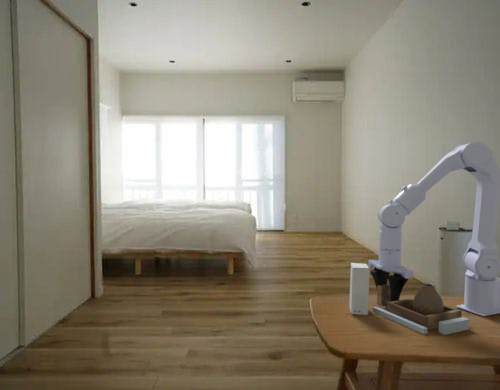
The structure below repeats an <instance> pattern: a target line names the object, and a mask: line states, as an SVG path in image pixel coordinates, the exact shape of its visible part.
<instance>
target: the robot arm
mask: <svg viewBox="0 0 500 390" xmlns="http://www.w3.org/2000/svg"><path fill="white" fill-rule="evenodd" d="M457 170H459V171H460V170H465V171H467V172H468V173H469V174H470V175H471V176H473V177H474V179H475V180H477V181H476V193H475V203H474V210H473V211H474V212H473V213H474V214H473V222H472V223H473V224H472V235H471V239H470V241H468V243H467V248H466V251H465V252H464V254H463V256H462V264H463V266H464V267H465V269H466V270H465V271H466V272H465V273H464V275H465V276H464V298H463V299H464V300H463V304H457V305H456V309H457V308H458V309H459V310H463V311H467V312H469V313H472V314H475V315H478V316H481V317H488V316H493V315H498V314H500V277H498V276H500V251H499V248H498V246H497V243H496V235H497V233H496V232H497V224H498V215H499V214H498V213H499V202H500V167H499V165H498V162H497V161H496V159H495V157H494V150H493V149H491V148H490V147H489V146H488V145H486V144H485V143H484V142H481V141H472V142H469V143H464V144H459V145H457V146H455V147H454V149H453V150H452V151H449V152H448V153H447V154H446V155H444V156H443V157H442V158H441V159H440V160H439V161H438V162H437V163H436V164H435V165H434V166H433V167H432V168H431V169H430V170H428V172H427V173H426V174H425V175H424V176H423V177H422V178H420V180H419V181H418V182H417V183H409V184H407V185H403V186H401V188H400V189H401V191H400V192H399V193H398V194H397V195H395V197H394V198H393V199H391V198H390V199H389V200H388V201H387V202H388V203H389V204H386V205H383V207H381V208H380V210H379V213H378V214H377V217H378V220H379V221H380V226H379V235H378V236H379V238H378V241H379V242H378V260H376V259H368V261H367V263H368V264H367V266H368V267H369V268H374V269H373V270H372V269H371V270H369V274H370V275H371V277H372V279H373V280H374V283H375V287H376V289H377V285H383V284H390V298H391V301H395V300H400V297H401V295H402V291H403V289H404V287H405V285H406V284H407V282H408V281H409V279H413V278H414V277H413V276H414V275H413V274H414V271H413V270H411V269H408V268H407V267H404V266H402V265H401V261H402V240H403V239H402V237H403V234H402V225H403V224H404V223H405V220H406V216H409V215H410V214H411V213H413V211H414V210H416V209H417V208H418V207H419V206H420V205H421V204H422V203H423V202H424V201H426V199H427V192H428V191H429V190H431V188H432V187H434V186H435V185H436V184H438V183H439V182H440V181H441V180H442V179H443V178H445V177H446V176H448V174H449V173H451V172H454V171H457ZM390 273H391V275H390ZM388 282H389V283H388Z"/></svg>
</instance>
